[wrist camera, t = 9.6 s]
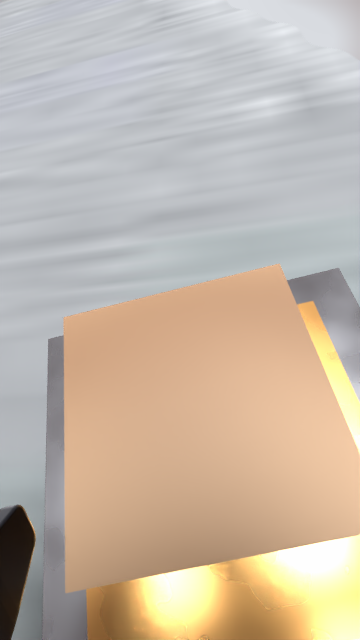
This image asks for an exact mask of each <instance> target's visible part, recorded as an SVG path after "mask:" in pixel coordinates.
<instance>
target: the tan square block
mask: <svg viewBox="0 0 360 640" xmlns="http://www.w3.org/2000/svg"><path fill="white" fill-rule="evenodd" d="M64 461H65V593H69V592H74V591H79V590H85V589H90V588H95V587H100V586H105V585H110V584H115V583H120V582H125V581H130V580H135V579H140V578H145V577H150V576H155V575H160V574H166V573H171V572H176V571H181V570H186V569H191V568H196V567H201V566H206V565H211V564H216V563H221V562H226V561H231V560H236V559H241V558H246V557H252V556H257V555H262V554H267V553H272V552H277V551H282V550H287V549H292V548H297V547H302V546H307V545H312V544H317V543H322V542H327V541H333V540H338V539H343V538H348V537H353V536H358V535H360V452H359V449H358V447H357V445H356V442H355V440H354V438H353V435H352V433H351V431H350V428H349V426H348V423H347V421H346V419H345V416H344V414H343V412H342V409H341V407H340V405H339V402H338V400H337V398H336V395H335V393H334V391H333V388H332V386H331V384H330V381H329V379H328V376H327V374H326V372H325V369H324V367H323V365H322V362H321V360H320V358H319V355H318V353H317V351H316V348H315V346H314V344H313V341H312V339H311V336H310V334H309V332H308V329H307V327H306V325H305V322H304V320H303V318H302V315H301V313H300V311H299V308H298V306H297V304H296V301H295V299H294V296H293V294H292V292H291V289H290V287H289V285H288V282H287V280H286V278H285V275H284V273H283V271H282V268H281V266H280V264H276V265H272V266H268V267H264V268H260V269H256V270H252V271H248V272H244V273H240V274H236V275H232V276H228V277H224V278H220V279H216V280H212V281H208V282H204V283H200V284H196V285H192V286H188V287H184V288H180V289H176V290H172V291H168V292H164V293H160V294H156V295H152V296H148V297H144V298H139V299H135V300H131V301H127V302H123V303H119V304H115V305H111V306H107V307H103V308H99V309H95V310H91V311H87V312H83V313H79V314H75V315H71V316H67V317H64Z"/></svg>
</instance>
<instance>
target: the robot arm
mask: <svg viewBox="0 0 360 640" xmlns="http://www.w3.org/2000/svg"><path fill="white" fill-rule="evenodd" d="M35 541H36V536H35V531H34V529H33V526H32V524H31V522H30V520H29V518H28V516H27V514H26V511H25V509H24V508H23V507H22V506H21V505H13V506H9V507H4V508H2V509H0V640H11V637H12V634H13V631H14V627H15V624H16V620H17V616H18V613H19V609H20V605H21V600H22V596H23V592H24V588H25V584H26V580H27V576H28V572H29V568H30V563H31V559H32V555H33V551H34V547H35Z"/></svg>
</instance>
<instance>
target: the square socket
mask: <svg viewBox="0 0 360 640" xmlns="http://www.w3.org/2000/svg"><path fill="white" fill-rule="evenodd" d="M287 282H288V285H289V287H290V289H291V292H292V294H293V296H294V299H295V301H296V304H297V306H298V308H299V311H300V313H301V315H302V318H303V320H304V322H305V325H306V327H307V329H308V332H309V334H310V336H311V339H312V341H313V344H314V346H315V348H316V351H317V353H318V355H319V358H320V360H321V362H322V365H323V367H324V369H325V372H326V374H327V376H328V379H329V381H330V384H331V386H332V388H333V391H334V393H335V395H336V398H337V400H338V402H339V405H340V407H341V409H342V412H343V414H344V416H345V419H346V421H347V423H348V426H349V428H350V431H351V433H352V435H353V438H354V440H355V442H356V445H357V447H358V449H359V452H360V307H359V305H358V303H357V301H356V300H355V298H354V296H353V294H352V292H351V290H350V288H349V286H348V285H347V283H346V281H345V279H344V277H343V275H342V273H341V271H340V270H339V268H336V269H332V270H328V271H324V272H320V273H316V274H312V275H308V276H304V277H299V278H295V279H291V280H287ZM42 640H360V535H358V536H353V537H348V538H343V539H338V540H333V541H327V542H322V543H317V544H312V545H307V546H302V547H297V548H292V549H287V550H282V551H277V552H272V553H267V554H262V555H257V556H252V557H246V558H241V559H236V560H231V561H226V562H221V563H216V564H211V565H206V566H201V567H196V568H191V569H186V570H181V571H176V572H171V573H166V574H160V575H155V576H150V577H145V578H140V579H135V580H130V581H125V582H120V583H115V584H110V585H105V586H100V587H95V588H90V589H85V590H79V591H74V592H69V593H65V461H64V335H63V336H59V337H55V338H51V339H48V384H47V432H46V479H45V527H44V574H43V622H42Z"/></svg>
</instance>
